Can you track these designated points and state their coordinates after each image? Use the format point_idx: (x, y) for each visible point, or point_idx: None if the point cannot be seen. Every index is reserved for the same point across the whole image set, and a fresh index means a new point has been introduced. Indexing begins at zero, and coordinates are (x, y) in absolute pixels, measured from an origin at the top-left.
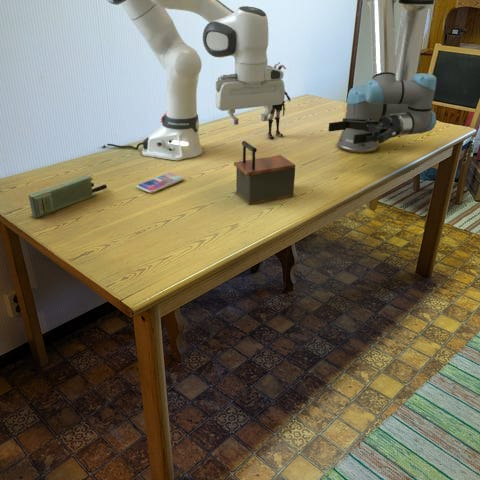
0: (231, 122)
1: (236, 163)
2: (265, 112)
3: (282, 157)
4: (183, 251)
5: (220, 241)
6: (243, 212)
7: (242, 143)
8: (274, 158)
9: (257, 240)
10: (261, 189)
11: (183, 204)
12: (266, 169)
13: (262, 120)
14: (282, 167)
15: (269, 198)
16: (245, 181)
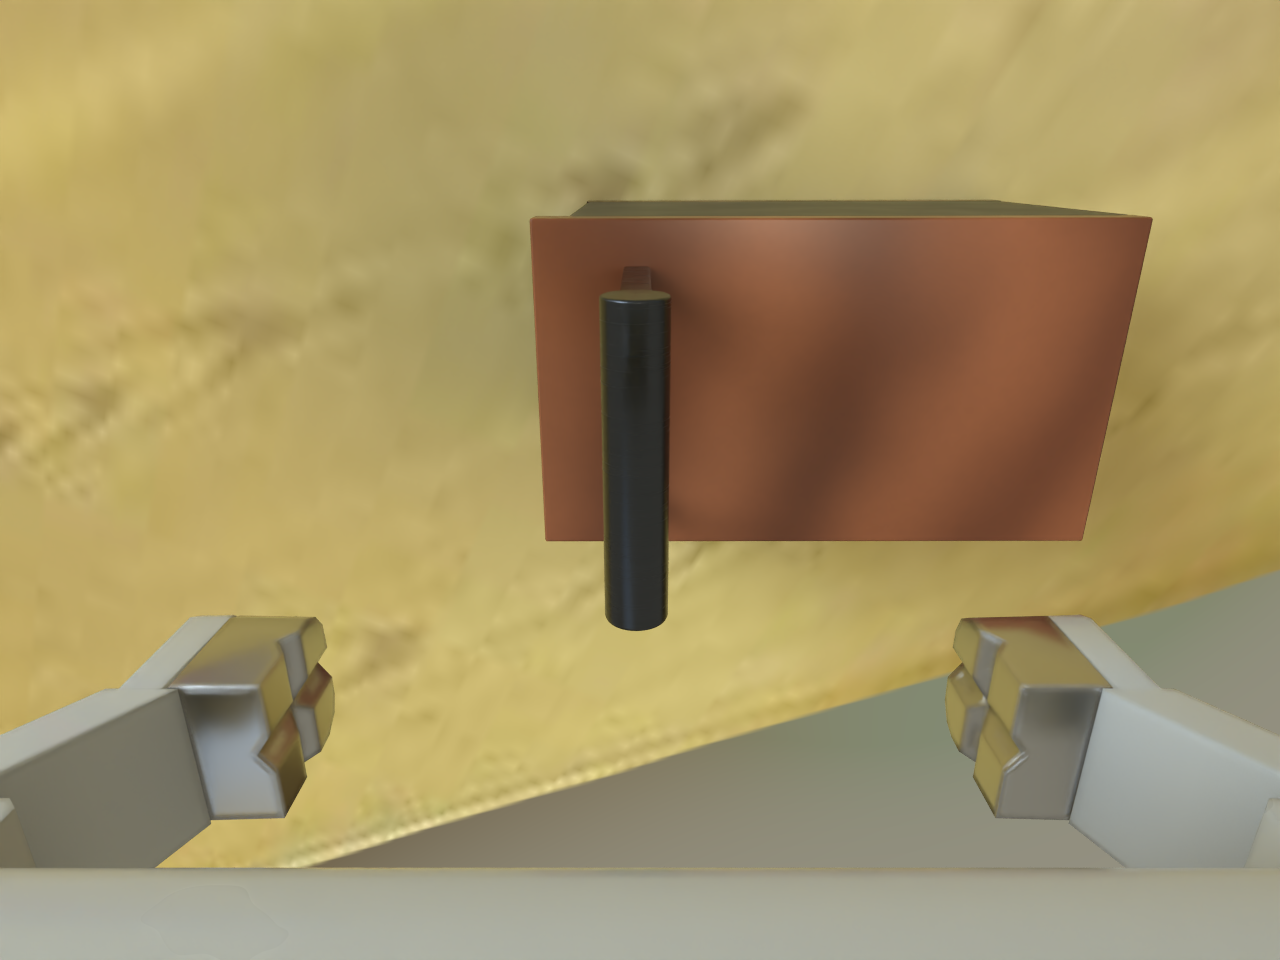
0: (189, 628)
1: (544, 269)
2: (1139, 772)
3: (1111, 309)
4: None
5: None
6: (510, 517)
7: (599, 324)
8: (1013, 300)
9: (455, 809)
10: None
11: (125, 230)
12: (755, 540)
13: (961, 660)
14: (931, 538)
15: None
16: None
